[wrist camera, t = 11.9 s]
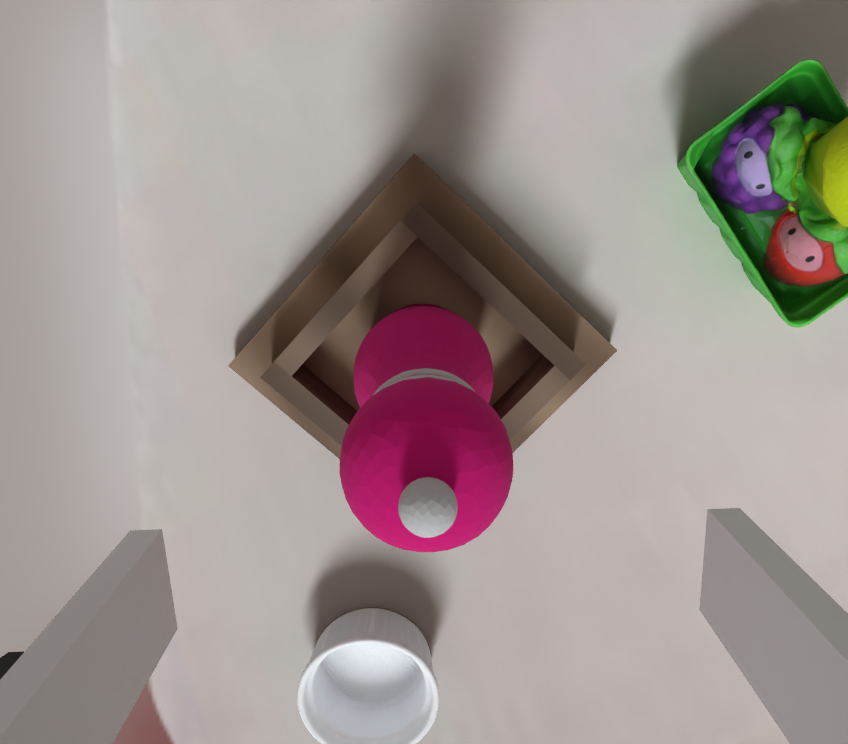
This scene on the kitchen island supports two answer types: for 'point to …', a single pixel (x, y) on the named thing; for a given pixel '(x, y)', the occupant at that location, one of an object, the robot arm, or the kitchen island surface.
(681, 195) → the kitchen island surface
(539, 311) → the walnut stand
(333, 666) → the ramekin
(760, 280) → the fruit basket
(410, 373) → the pepper mill
